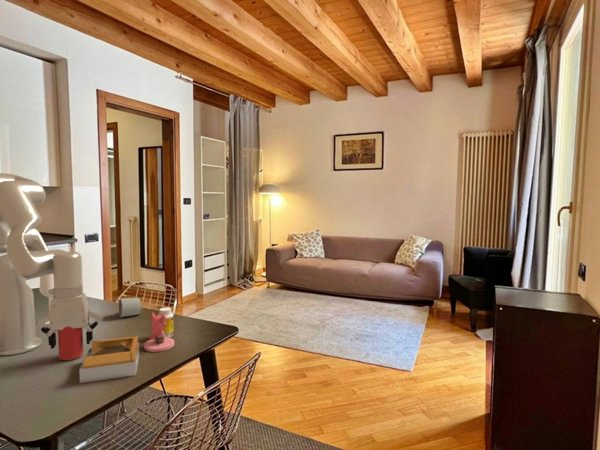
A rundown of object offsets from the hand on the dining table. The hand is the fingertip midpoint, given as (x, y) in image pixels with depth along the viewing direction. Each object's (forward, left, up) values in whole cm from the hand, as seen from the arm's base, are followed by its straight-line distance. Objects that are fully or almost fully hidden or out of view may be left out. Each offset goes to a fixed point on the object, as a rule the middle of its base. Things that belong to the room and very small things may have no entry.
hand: (71, 344), depth 114 cm
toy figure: (+26, 0, -4) cm, 26 cm away
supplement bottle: (+28, +8, -4) cm, 29 cm away
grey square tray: (+13, -12, -4) cm, 18 cm away
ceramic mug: (+13, +37, -4) cm, 40 cm away
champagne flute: (-15, +38, -4) cm, 41 cm away
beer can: (0, 0, -4) cm, 4 cm away
